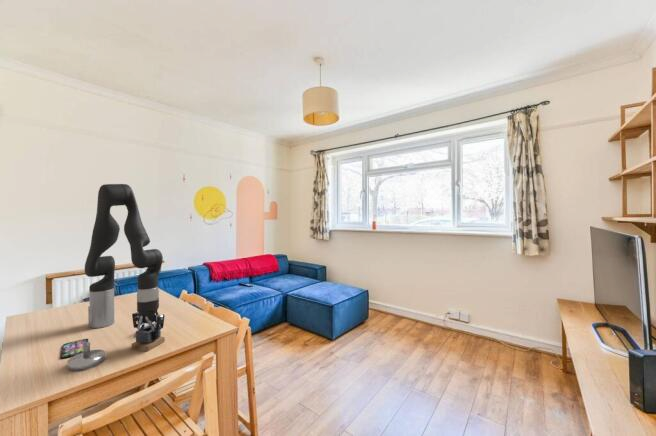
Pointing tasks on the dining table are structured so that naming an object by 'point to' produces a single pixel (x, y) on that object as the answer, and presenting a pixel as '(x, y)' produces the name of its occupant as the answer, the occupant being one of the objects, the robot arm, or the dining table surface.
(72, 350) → the smartphone
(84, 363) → the stand
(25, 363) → the dining table surface
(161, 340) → the stand
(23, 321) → the dining table surface
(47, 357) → the dining table surface
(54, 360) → the dining table surface
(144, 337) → the grey notched block
